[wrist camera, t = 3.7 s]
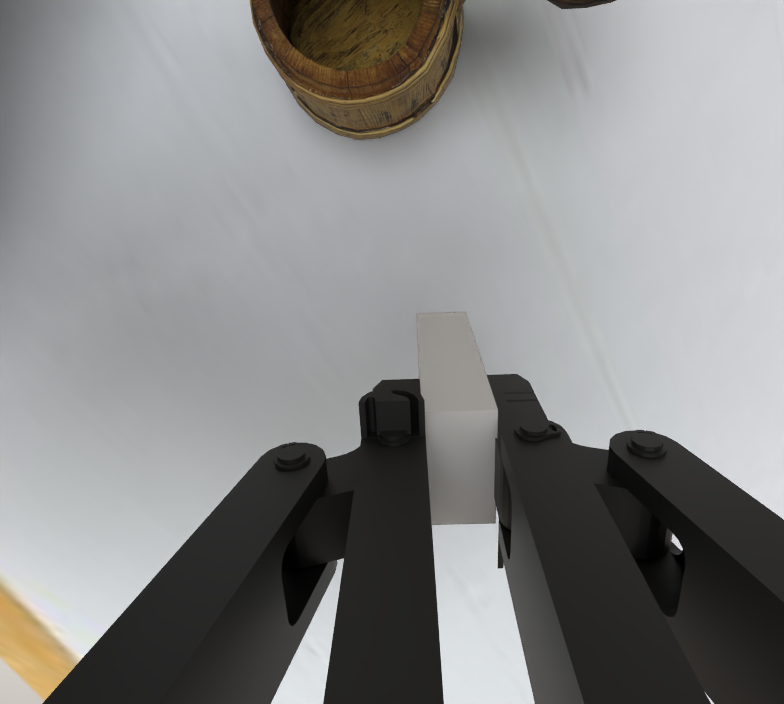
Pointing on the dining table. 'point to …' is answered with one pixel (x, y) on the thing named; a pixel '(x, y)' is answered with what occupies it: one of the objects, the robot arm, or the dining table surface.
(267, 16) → the wooden mug
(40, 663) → the dining table surface
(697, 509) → the robot arm
